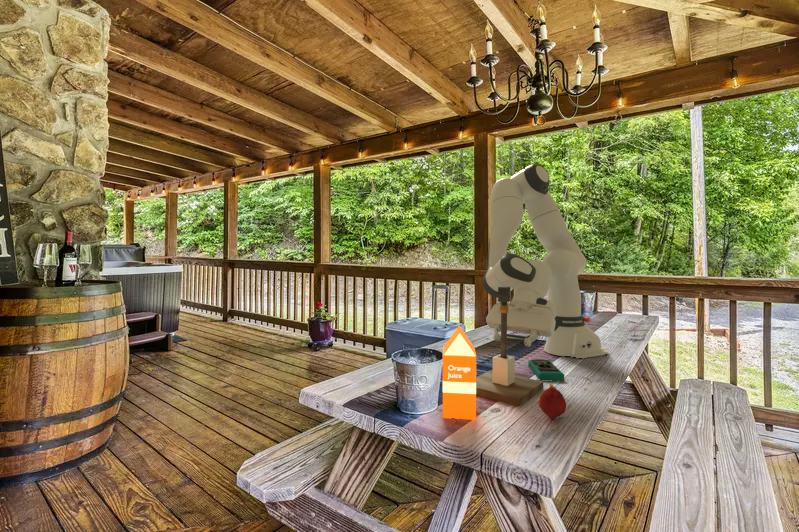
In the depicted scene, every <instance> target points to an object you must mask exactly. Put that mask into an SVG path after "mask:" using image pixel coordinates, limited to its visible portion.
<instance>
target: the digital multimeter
mask: <svg viewBox="0 0 799 532" xmlns="http://www.w3.org/2000/svg"><path fill="white" fill-rule="evenodd" d="M527 365H528V367H529V369H531V371H532V372H533V374H535V376H536V377H537V379H538V380H539V379H540V380H539V381H541V380H552V381H551V382H564V381H565V373H564V372H562V371H561V370H560V369H559V368H558V367H557V366H556V365H555V364H554V363H553V362H552V361H551V360H549V359H542V358H541V359H539V358H538V359H530V360H528V364H527Z"/></svg>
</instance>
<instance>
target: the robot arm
mask: <svg viewBox="0 0 799 532" xmlns="http://www.w3.org/2000/svg"><path fill="white" fill-rule="evenodd" d="M549 186H550V176H549V173H548V171H547V169H546V168H544V167H543V166H542V165H541V164H538V163H532V164H530V165H528V166H525V168H523V169H521V170H520V171H518V172H517V173H515V174H514V175H512V176H511V177H502V178H500V179H498V180H497V181H496V182H494V184H493V186H492V190H491V194H490V202H489V203H490V206H489V207H490V226H489V229H490V230H489V239H488V251H487V252H488V253H487V254H488V255H487V265H486V271H485V273H484V275H483V277H482V283H481V284H482V287H483V289H484V290H485V291H486V293H487V294H488V295H490V296H491V297H493V298H496V299H498V287H502V286H503V287H510V293H511V292H512V291H513V290H515V292H514V294H513V297H512V299H511V300H510V302H507V305H508V313H507V332H515V333H521V334H525V335H526V334H527V335H529V336H528V337H525V338H524V340H523V345H524V347H529V348H530V347H531V346H532V344H533V342H535V341H536V340H537V339H538V338H539V337H545V338H546V342H545V345H544V348H543V351H544V352H546V353H547V354H551V355H555V356H557V357H558V356H560V357H565V356H571V357H570V358H573V357H576V358H575V359H579V358H582V359H587V358H588V357H589V358H594V357H601V356H606V355H605V354H607V355H608V354H609V351H608V350H607V349H605V348H604V347H602V342H601V338H600V336H599V335H598V334H596V333H595V332H594V331H593V330H592V329H590V328H589V327H588V326H587V325H586V323H588V324H589V323H590V322H591V321H592V319H591V317H589V316H583V315H582V293H581V290H580V286H579V279H578V277H579V275H581V274H582V273H583V272H584V270H585V268H586V267H587V259H586V257H585V255H584V253H583V252H582V250H581V248H580V246H578V243H577V242H576V240H575V239H574V237H573V235H572V234H571V232H570V230H569V229H568V226H567V224H566V223H565V220H564V218H563V215H562V214H561V211H560V208H559V207H558V205H557V202H556V201H555V199H554V198H553V196H552V195H551V194H550V193H549ZM524 206H525V207H526V208H525V209H526V211H527V216H528V218H529V221H530V224H531V226H532V228H533V231H534V233H535V235H536V238H537V239H538V241H539V243H540V244H541V245H542V247H543V248H544V249H545V250H546V252H547V254H545V256H544V258H543V260H540V259H539V260H537V259H534V260H529V259H526V258H524V257H522V256H520V255H518V254H515V253H508V254H507V252H508V246H509V244H510V242H511V240H512V238H513V237H514V234H515V233H516V231H517V230H518V228H519V227H520V226H521V224H522V222H523V221H522V220H523V217H524ZM547 294H548V299H547V298H545V296H547ZM500 305H501V302H498V303H495V304H493V306H492V308H491V309H490V311H489V312H488V314H487V315H486V317H485V322H486V323H487V326H488V327H489V328H490V329H493V330H494V334H493V337H492V338H493V340H494V341H496V342H499V341H500V342H501V313H500ZM589 358H588V359H589Z"/></svg>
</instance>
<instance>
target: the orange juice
mask: <svg viewBox="0 0 799 532" xmlns="http://www.w3.org/2000/svg"><path fill="white" fill-rule="evenodd" d="M476 377H477V353H476V348H475V346H474V345H473V344H472V342H471V341H470V339H469V338H468V336H467V335H466V333H465V332H464V330H463V328H462V327H461V326H460V325H458V327H457V328H456V329H455V331H454V332H453V333H452V335H451V336H450V338H449V339H448V340H447V342H446V343H445V344H444V345H443V348H442V418H443V417H444V418H443V419H451V418H455V419H456V420H469V421H470V420H471V421H477V416H476V415H477V403H476V402H477V395H476ZM455 419H454V420H455Z"/></svg>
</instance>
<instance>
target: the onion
mask: <svg viewBox="0 0 799 532" xmlns="http://www.w3.org/2000/svg"><path fill="white" fill-rule="evenodd" d="M538 405H539V406H538V407H539V408H540V410H541V412H542V413H543V414H544V415H545V416H546V417H548V419H550V420H555V419H557V418H560V417H562V415H564V414H565V412H566V411H567V400H566V398H565V397H564V395H563V394H562V392H561V391H560V390H559V389H558V388H556V387H555V386H554V384H553V383H549V387H548V388H546V389H545V390H542V392H541V393H540V395H539V397H538Z"/></svg>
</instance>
